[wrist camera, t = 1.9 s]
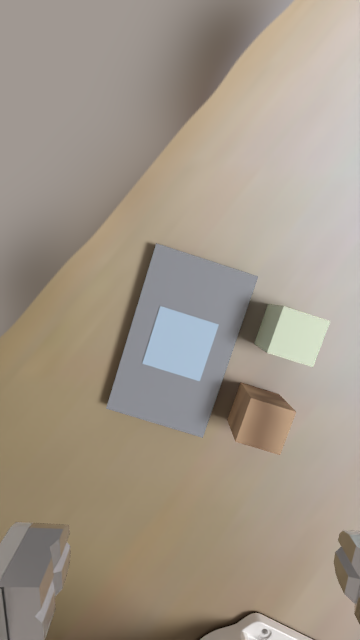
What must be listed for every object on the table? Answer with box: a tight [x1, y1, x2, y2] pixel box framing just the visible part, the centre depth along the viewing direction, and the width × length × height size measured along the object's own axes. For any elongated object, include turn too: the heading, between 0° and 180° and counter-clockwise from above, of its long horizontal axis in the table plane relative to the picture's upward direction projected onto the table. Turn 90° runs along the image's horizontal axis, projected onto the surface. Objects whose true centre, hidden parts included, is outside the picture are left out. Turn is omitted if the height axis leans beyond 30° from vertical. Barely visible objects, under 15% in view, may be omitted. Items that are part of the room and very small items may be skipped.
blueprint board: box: [106, 243, 258, 438], centre depth 32 cm, size 12×20×1 cm, turn 162°
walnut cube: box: [227, 382, 296, 455], centre depth 31 cm, size 5×5×5 cm
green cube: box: [254, 304, 330, 367], centre depth 30 cm, size 5×5×5 cm
